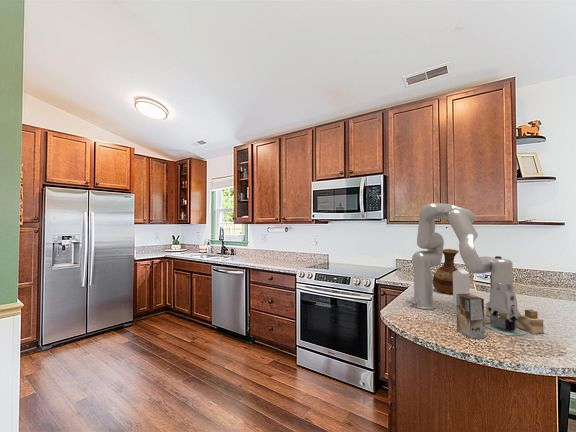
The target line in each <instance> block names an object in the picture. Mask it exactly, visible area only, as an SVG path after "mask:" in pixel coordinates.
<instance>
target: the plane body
mask: <svg viewBox="0 0 576 432" xmlns="http://www.w3.org/2000/svg"><path fill="white" fill-rule="evenodd" d="M485 310H486V312H485V317H487V318H489V319H490V315H491V314H490V311H489V310H488V307H487V305H486V304H485ZM518 312H519V313H520V314H521V316H520V317H519V318H518V319H517V320H516V329H518V330H520V331H524V332H527V333H528V334H531V335H544V334H545V331H544V319H542V318H538V317H539V316H538V315H539V314H538V311H536V310H533V309H524V313H523V312H521V311H518ZM498 314H502V315H506V314H503V313H500V312H498ZM514 315H515V314H514ZM510 317H511V315H510Z"/></svg>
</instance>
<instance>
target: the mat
mask: <svg viewBox="0 0 576 432" xmlns="http://www.w3.org/2000/svg"><path fill="white" fill-rule="evenodd" d="M484 328H487V329H490V330H492V331H493V332H494V331H495V332H497V333H499V334H502V335H504V336H506V337H510V336H511V337H512V336H513V337H514V336H525V335H526V333H524V332H521V331H519V330H516V329H515V330H512V331H509V330H507V329H502V328H500V327H497V326H495V325H492V324H490V323H489V324H484Z"/></svg>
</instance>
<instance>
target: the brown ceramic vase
mask: <svg viewBox="0 0 576 432" xmlns="http://www.w3.org/2000/svg"><path fill="white" fill-rule="evenodd" d="M458 253H460V251H459V250H457V249H451V248H446V249H444V248H443V254H442V255H444V262H443V264H442V266H440V267H438V269H437V270H436V271H435V272H434V274H433V276H432V283H433V289H435V290H437V291H440V292H442V293H446V294H452V295H453V272H454V271H456V270H457V268H458V267H456V266H455V257H456V255H457V254H458Z"/></svg>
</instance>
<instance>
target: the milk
mask: <svg viewBox="0 0 576 432" xmlns="http://www.w3.org/2000/svg"><path fill="white" fill-rule="evenodd" d="M456 268H457V270H456V271H454V272H453V294H452V296H453V297H452V300H453V301H452V302H453V303H452V304H453V305H455V306H457V305H456V294H470V273H469V271H468V270H465V266H458V267H456Z"/></svg>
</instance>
